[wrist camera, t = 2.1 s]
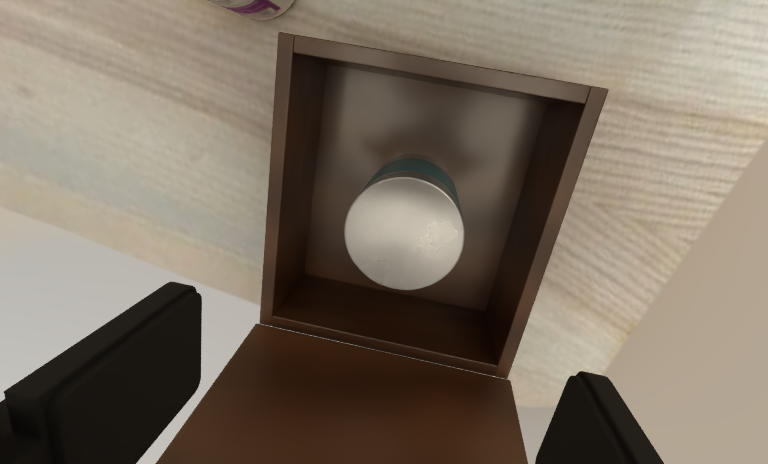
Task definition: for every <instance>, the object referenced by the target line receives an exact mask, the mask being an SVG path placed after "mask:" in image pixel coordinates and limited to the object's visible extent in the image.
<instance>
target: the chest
mask: <svg viewBox="0 0 768 464" xmlns="http://www.w3.org/2000/svg"><path fill="white" fill-rule="evenodd" d="M607 93H608V89H605V88H600V87H594V86H588V85H582V84H577V83H571V82H565V81H559V80H554V79H548V78H542V77H536V76H530V75H525V74H519V73H513V72H507V71H502V70H496V69H490V68H484V67H479V66H473V65H467V64H461V63H455V62H450V61H444V60H438V59H432V58H427V57H421V56H415V55H409V54H404V53H398V52H392V51H386V50H381V49H375V48H369V47H363V46H357V45H352V44H346V43H340V42H334V41H329V40H323V39H317V38H311V37H306V36H300V35H293V34H288V33H282V32H279V36H278V51H277V67H276V82H275V97H274V112H273V128H272V143H271V158H270V174H269V189H268V204H267V219H266V235H265V250H264V265H263V280H262V296H261V311H260V324H264V325H268V326H273V327H277V328H281V329H286V330H291V331H294V332H299V333H304V334H308V335H312V336H317V337H321V338H326V339H330V340H335V341H339V342H343V343H348V344H352V345H357V346H361V347H366V348H370V349H375V350H379V351H384V352H388V353H392V354H397V355H401V356H406V357H410V358H415V359H419V360H424V361H428V362H433V363H437V364H441V365H446V366H450V367H455V368H459V369H464V370H468V371H473V372H477V373H482V374H486V375H490V376H495V377H499V378H504V379H507V378H508V375H509V372H510V370H511V367H512V364H513V361H514V358H515V355H516V352H517V350H518V347H519V344H520V341H521V338H522V335H523V332H524V330H525V327H526V324H527V321H528V318H529V315H530V312H531V310H532V307H533V304H534V301H535V298H536V295H537V293H538V290H539V287H540V284H541V281H542V278H543V275H544V273H545V270H546V267H547V264H548V261H549V258H550V255H551V253H552V250H553V247H554V244H555V241H556V238H557V235H558V233H559V230H560V227H561V224H562V221H563V218H564V215H565V213H566V210H567V207H568V204H569V201H570V198H571V195H572V193H573V190H574V187H575V184H576V181H577V178H578V176H579V173H580V170H581V167H582V164H583V161H584V158H585V156H586V153H587V150H588V147H589V144H590V141H591V138H592V136H593V133H594V130H595V127H596V124H597V121H598V118H599V116H600V113H601V110H602V107H603V104H604V101H605V98H606V96H607ZM403 155H422V156H426V157H429V158H431V159H433V160H435V161H437V162H438V163H439V164H441V165H442V166H443V167H444V168H445V169H446V170H447V172H448V173H449V174H450V176H451V178H452V180H453V182H454V185H455V189H456V192H457V196H458V200H459V204H460V209H461V213H462V219H463V223H464V230H465V241H464V246H463V250H462V253H461V256H460V258H459V260H458V262H457V263H456V265H455V266H454V268H453V269H452V270H451V271H450V272H449V273H448V274H447V275H446V276H445V277H444V278H443V279H441V280H440V281H438V282H436V283H434V284H432V285H430V286H428V287H425V288H421V289H416V290H396V289H391V288H387V287H384V286H382V285H379V284H377V283H376V282H374V281H372V280H371V279H369V278H368V277H366V276H365V275H364V274H363V273H362V272H361V271H360V270H359V269H358V268H357V266H356V265H355V264H354V262H353V261H352V259H351V257H350V255H349V253H348V250H347V247H346V243H345V235H344V228H345V221H346V217H347V214H348V211H349V209H350V207H351V205H352V203H353V202H354V200H355V199H356V198H357V196H358V195H359V194H360V193H361V191H362V190H363V188H364V187H365V186H366V185H367V184H368V182H369V181H370V180H371V179H372V178H373V176H374V175H375V174H376V173H377V172H378V171H379V170H380V168H381V167H382V166H383V165H385V164H386V163H387V162H389V161H390V160H392V159H394V158H397V157H400V156H403Z"/></svg>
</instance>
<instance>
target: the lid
mask: <svg viewBox="0 0 768 464" xmlns="http://www.w3.org/2000/svg"><path fill="white" fill-rule="evenodd" d="M156 464H528V461H527V457H526V452H525V447H524V443H523V438H522V433H521V429H520V424H519V420H518V414H517V410H516V405H515V400H514V396H513V391H512V386H511V381H510V380H506V379H501V378H497V377H492V376H488V375H483V374H479V373H475V372H470V371H466V370H461V369H457V368H452V367H448V366H443V365H439V364H434V363H430V362H426V361H421V360H417V359H412V358H408V357H403V356H399V355H394V354H390V353H385V352H381V351H377V350H372V349H368V348H363V347H359V346H354V345H350V344H345V343H341V342H336V341H332V340H328V339H323V338H319V337H314V336H310V335H305V334H301V333H296V332H292V331H288V330H282V329H279V328H274V327H270V326H265V325H261V324H256V325H255V326H254V327H253V329H252V330H251V332H250V333H249V334H248V336H247V337H246V338H245V340H244V341H243V343H242V344H241V345H240V347H239V348H238V350H237V351H236V353H235V354H234V355H233V357H232V358H231V359H230V361H229V362H228V364H227V365H226V366H225V368H224V369H223V371H222V372H221V373H220V375H219V376H218V378H217V379H216V380H215V382H214V383H213V385H212V386H211V387H210V389H209V390H208V391H207V393H206V394H205V396H204V397H203V398H202V400H201V401H200V403H199V404H198V406H197V407H196V408H195V410H194V411H193V413H192V414H191V415H190V417H189V418H188V420H187V421H186V423H185V424H184V425H183V426H182V428H181V429H180V431H179V432H178V433H177V435H176V436H175V438H174V439H173V440H172V442H171V443H170V445H169V446H168V447H167V449H166V450H165V451H164V453H163V454H162V456H161V457H160V458H159V460H158V461H157V463H156Z"/></svg>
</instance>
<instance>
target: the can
mask: <svg viewBox="0 0 768 464" xmlns="http://www.w3.org/2000/svg"><path fill="white" fill-rule="evenodd" d="M344 235H345V243H346V247H347V250H348V253H349V255H350V257H351V259H352V261H353V262H354V264H355V265H356V266H357V268H358V269H359V270H360V271H361V272H362V273H363V274H364V275H365V276H366V277H368V278H369V279H371V280H372V281H374V282H376V283H377V284H379V285H382V286H384V287H387V288H391V289H396V290H416V289H421V288H425V287H428V286H430V285H432V284H434V283H436V282H438V281H440V280H441V279H443V278H444V277H445V276H446V275H447V274H448V273H449V272H450V271H451V270H452V269H453V268H454V266H455V265H456V263H457V262H458V260H459V258H460V256H461V253H462V250H463V246H464V241H465V230H464V223H463V219H462V213H461V209H460V204H459V200H458V196H457V192H456V189H455V185H454V182H453V180H452V178H451V176H450V174H449V173H448V172H447V170H446V169H445V168H444V167H443V166H442V165H441V164H439V163H438V162H437V161H435V160H433V159H431V158H429V157H426V156H422V155H403V156H400V157H397V158H394V159H392V160H390V161H389V162H387V163H386V164H385V165H383V166H382V167H381V168H380V170H379V171H378V172H377V173H376V174H375V175H374V176H373V178H372V179H371V180H370V181H369V182H368V184H367V185H366V186H365V187H364V188H363V190H362V191H361V193H360V194H359V195H358V196H357V198H356V199H355V200H354V202H353V203H352V205H351V207H350V209H349V211H348V214H347V217H346V221H345V228H344Z"/></svg>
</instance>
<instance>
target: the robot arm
mask: <svg viewBox="0 0 768 464" xmlns="http://www.w3.org/2000/svg"><path fill="white" fill-rule="evenodd" d="M201 310H202V298H201V295H200V294H199V293H197V291H196V289H195V287H193V286H190V285H185V284H181V283H176V282H169V283H167V284H165V285H164V286H162V287H161V288H159V289H158V290H156V291H155V292H153V293H152V294H150V295H149V296H147V297H146V298H144V299H143V300H141V301H140V302H138V303H137V304H135V305H134V306H132V307H131V308H129V309H128V310H126V311H125V312H123V313H122V314H120V315H119V316H117V317H116V318H114V319H112V320H111V321H109V322H108V323H107V324H105V325H103V326H102V327H100V328H99V329H98V330H96V331H94V332H93V333H91V334H90V335H88V336H87V337H85V338H84V339H82V340H81V341H79V342H78V343H76V344H75V345H73V346H72V347H70V348H69V349H67V350H66V351H64V352H63V353H61V354H60V355H58V356H57V357H55V358H54V359H52V360H51V361H49V362H48V363H46V364H45V365H43V366H42V367H40V368H39V369H37V370H36V371H34V372H33V373H31V374H30V375H28V376H27V377H25V378H24V379H22V380H21V381H19V382H18V383H16V384H14V385H13V386H11V387H10V388H8V389H7V390H6V391H4V394H5V399H4V400H3V401H1V402H0V464H136V463H137V462H138V460H139V459H140V458H141V457H142V456H143V454H144V453H145V452H146V451H147V450H148V448H149V447H150V446H151V445H152V444H153V442H154V441H155V440H156V439H157V438H158V436H159V435H160V434H161V433H162V432H163V430H164V429H165V428H166V427H167V426H168V424H169V423H170V422H171V421H172V420H173V418H174V417H175V416H176V415H177V414H178V412H179V411H180V410H181V409H182V408H183V406H184V405H185V404H186V403H187V401H188V400H189V399H190V398H191V397H192V395H193V394H194V393H195V392H196V390H197V388H198V386H199V383H200V379H201ZM535 464H664V463H663V461H662V460H661V458H660V456H659V455H658V454H657V452H656V450H655V449H654V447H653V446H652V444H651V443H650V441H649V439H648V438H647V436H646V435H645V433H644V432H643V430H642V429H641V427H640V426H639V424H638V423H637V421H636V419H635V418H634V417H633V415H632V413H631V412H630V410H629V409H628V407H627V405H626V404H625V402H624V401H623V399H622V398H621V396H620V395H619V393H618V392H617V390H616V388H615V387H614V386H613V384H612V382H611V381H610V380H609V379H608V377H605V376H602V375H597V374H592V373H588V372H583V371H581V372H579V373H578V374H577V375H576V376H570V377H569V379H568V381H567V383H566V386H565V388H564V390H563V393H562V395H561V398H560V400H559V403H558V405H557V408H556V410H555V412H554V415H553V417H552V420H551V422H550V425H549V427H548V430H547V432H546V435H545V437H544V439H543V442H542V444H541V447H540V449H539V452H538V454H537V457H536V462H535Z"/></svg>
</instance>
